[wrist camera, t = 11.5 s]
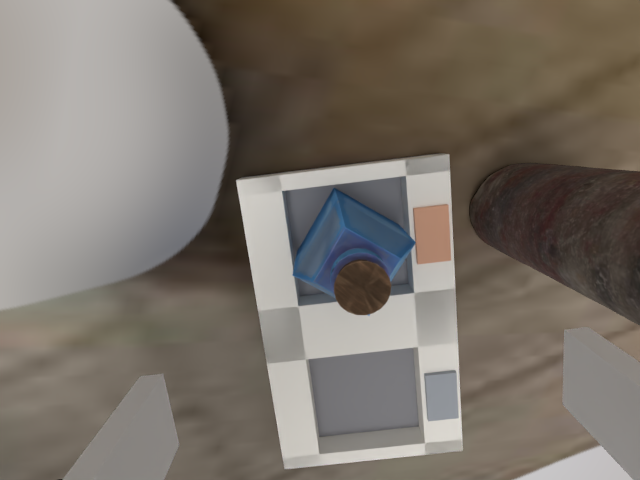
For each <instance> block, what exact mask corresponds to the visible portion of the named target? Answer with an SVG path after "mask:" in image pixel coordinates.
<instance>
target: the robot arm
mask: <svg viewBox="0 0 640 480" xmlns="http://www.w3.org/2000/svg"><path fill="white" fill-rule="evenodd" d="M563 405H564V406H565V408H566V409H567V410H568V411H569V412H570V413H571V414H572V415H573V416H574V417H575V418H576V419H577V420H578V421H579V422H580V423H581V425H582V426H583V427H584V428H585V429H586V430H587V431H588V432H589V433H590V434H591V435H592V436H593V437H594V438H595V439H596V440H597V442H598V443H599V444H600V445H601V446H602V447H603V448H604V449H605V450H606V451H607V452H608V453H609V454H610V455H611V456H612V457H613V459H614V460H615V461H616V462H617V463H618V464H619V465H620V466H621V467H622V468H623V469H624V470H625V471H626V472H627V473H628V474H629V475H630V477H631V478H632V479H633V480H640V362H639V361H637V360H636V359H634V358H633V357H632V356H630V355H629V354H627V353H626V352H624V351H623V350H621V349H620V348H618V347H617V346H615V345H614V344H612V343H611V342H609V341H608V340H606V339H605V338H603V337H602V336H601V335H599V334H598V333H596V332H595V331H593V330H592V329H590V328H589V327H585V328H576V329H566V330H564V364H563ZM178 447H179V441H178V436H177V432H176V428H175V423H174V419H173V414H172V410H171V406H170V401H169V397H168V392H167V388H166V384H165V379H164V375H163V374H156V375H147V376H140V377H139V379H138V380H137V381H136V383H135V384H134V385H133V387H132V388H131V389H130V391H129V392H128V393H127V394H126V396H125V397H124V398H123V400H122V401H121V402H120V404H119V405H118V406H117V408H116V409H115V410H114V412H113V413H112V414H111V416H110V417H109V418H108V420H107V421H106V422H105V424H104V425H103V426H102V428H101V429H100V430H99V432H98V433H97V434H96V436H95V437H94V438H93V440H92V441H91V442H90V444H89V445H88V446H87V448H86V449H85V450H84V452H83V453H82V454H81V456H80V457H79V458H78V460H77V461H76V462H75V464H74V465H73V466H72V468H71V469H70V470H69V472H68V473H67V474H66V476H65V477H64V478H63V479H60V480H164V478H165V476H166V474H167V472H168V470H169V467H170V465H171V463H172V461H173V458H174V456H175V454H176V452H177V450H178Z"/></svg>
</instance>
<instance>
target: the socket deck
mask: <svg viewBox="0 0 640 480" xmlns="http://www.w3.org/2000/svg"><path fill="white" fill-rule="evenodd" d="M236 183H237V188H238V194H239V200H240V206H241V212H242V218H243V224H244V230H245V236H246V242H247V248H248V254H249V260H250V266H251V272H252V278H253V284H254V290H255V296H256V302H257V308H258V314H259V320H260V326H261V332H262V338H263V344H264V350H265V356H266V362H267V368H268V374H269V380H270V385H271V391H272V397H273V403H274V409H275V415H276V421H277V427H278V433H279V439H280V445H281V451H282V457H283V463H284V469H293V468H303V467H312V466H322V465H331V464H341V463H351V462H360V461H370V460H379V459H389V458H398V457H408V456H418V455H427V454H437V453H446V452H456V451H463V444H462V422H461V400H460V378H459V356H458V335H457V313H456V291H455V269H454V247H453V225H452V204H451V182H450V160H449V154H441V153H437V154H429V155H420V156H412V157H404V158H396V159H388V160H380V161H371V162H363V163H355V164H347V165H339V166H331V167H322V168H314V169H306V170H298V171H290V172H282V173H273V174H265V175H257V176H249V177H242V178H240V179H238V180H236ZM333 188H336V189H337V190H339V191H341V192H343V193H344V194H346V195H348V196H350V197H351V198H353V199H355V200H357V201H358V202H360V203H362V204H364V205H365V206H367V207H369V208H371V209H372V210H374V211H376V212H378V213H379V214H381V215H383V216H385V217H387V218H388V219H390V220H392V221H394V222H395V223H397V224H399V225H400V226H401V227H402V228H403V229H404V230H405V231H406V233H407V234H408V235H409V236H410V237H411V238H412V239H413V240H414V241H415V242H416V243H415V245H414V247H413V248H412V250H411V251H410V253H409V254H408V256H407V257H406V259H405V261H404V262H403V264H402V265H401V267H400V268H399V270H398V272H397V273H396V275H395V276H394V278H393V279H392V281H391V294H390V296H389V299H388V301H387V303H386V304H385V305H384V306H383V307H382V308H381V309H380V310H378V311H376V312H375V313H372V314H370V315H369V316H368V315H355V314H352V313H349V312H347V311H346V310H344V309H343V308H342V307H341V306H340V305H339V303H338V302H337V300H336V298H334V297H332V296H330V295H328V294H326V293H324V292H323V291H321V290H319V289H317V288H315V287H313V286H311V285H309V284H308V283H306V282H304V281H302V280H300V279H298V278H296V277H294V276H293V270H294V265H295V259H296V254H297V251H298V249H299V247H300V246H301V244H302V242H303V240H304V239H305V237H306V235H307V233H308V232H309V230H310V228H311V226H312V225H313V223H314V221H315V219H316V218H317V216H318V214H319V212H320V211H321V209H322V207H323V205H324V204H325V202H326V200H327V198H328V197H329V195H330V193H331V192H332V190H333Z"/></svg>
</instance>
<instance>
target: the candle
mask: <svg viewBox="0 0 640 480" xmlns="http://www.w3.org/2000/svg"><path fill="white" fill-rule="evenodd" d="M470 218H471V222H472V225H473V227H474V229H475V231H476V233H477V234H478V236H479V237H480V238H481V239H482V240H483V241H484V242H485V243H487V244H488V245H490V246H492V247H494V248H495V249H497V250H499V251H501V252H503V253H505V254H506V255H508V256H510V257H512V258H514V259H516V260H518V261H519V262H521V263H524V264H526V265H528V266H530V267H532V268H534V269H535V270H537V271H539V272H541V273H543V274H545V275H547V276H549V277H551V278H553V279H554V280H556V281H558V282H560V283H562V284H564V285H565V286H567V287H569V288H571V289H573V290H575V291H577V292H579V293H581V294H582V295H584V296H586V297H588V298H590V299H592V300H594V301H596V302H598V303H599V304H601V305H603V306H605V307H607V308H609V309H611V310H613V311H614V312H616V313H618V314H619V315H621V316H624V317H625V318H627V319H629V320H630V321H632V322H634V323H636V324H638V325H640V172H638V171H626V170H612V169H600V168H587V167H579V166H565V165H553V164H538V163H521V164H513V165H509V166H507V167H505V168H503V169H501V170H499V171H497V172H495V173H494V174H492V175H490V176H489V177H488V178H487V179H486V180H485V182H484V183H483V184H482V185H481V187H480V188H479V189H478V191H477V193H476V194H475V196H474V198H473V199H472V201H471V204H470Z"/></svg>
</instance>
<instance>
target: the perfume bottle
mask: <svg viewBox="0 0 640 480" xmlns="http://www.w3.org/2000/svg"><path fill="white" fill-rule="evenodd" d="M415 243H416V242H415V241H414V240H413V239H412V238H411V237H410V236H409V235H408V234H407V233H406V231H405V230H404V229H403V228H402V227H401V226H400V225H399V224H397V223H395V222H394V221H392V220H390V219H388V218H387V217H385V216H383V215H381V214H379V213H378V212H376V211H374V210H372V209H371V208H369V207H367V206H365V205H364V204H362V203H360V202H358V201H357V200H355V199H353V198H351V197H350V196H348V195H346V194H344V193H343V192H341V191H339V190H337V189H336V188H333V190H332V192H331V193H330V195H329V197H328V198H327V200H326V202H325V204H324V205H323V207H322V209H321V211H320V212H319V214H318V216H317V218H316V219H315V221H314V223H313V225H312V226H311V228H310V230H309V232H308V233H307V235H306V237H305V239H304V240H303V242H302V244H301V246H300V247H299V249H298V251H297V254H296V259H295V265H294V270H293V276H294V277H296V278H298V279H300V280H302V281H304V282H306V283H308V284H309V285H311V286H313V287H315V288H317V289H319V290H321V291H323V292H324V293H326V294H328V295H330V296H332V297H334V298H336V300H337V302H338V303H339V305H340V306H341V307H342V308H343V309H344V310H346V311H347V312H349V313H352V314H355V315H368V316H369V315H370V314H372V313H375V312H376V311H378V310H380V309H381V308H382V307H383V306H384V305H385V304H386V303H387V301H388V299H389V296H390V294H391V281H392V279H393V278H394V276H395V275H396V273H397V272H398V270H399V268H400V267H401V265H402V264H403V262H404V261H405V259H406V257H407V256H408V254H409V253H410V251H411V250H412V248H413V247H414V245H415Z"/></svg>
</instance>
